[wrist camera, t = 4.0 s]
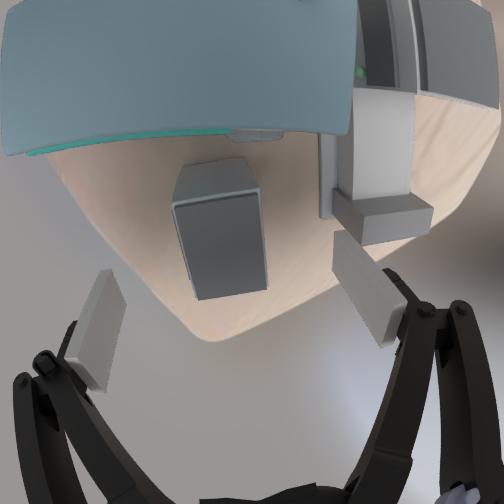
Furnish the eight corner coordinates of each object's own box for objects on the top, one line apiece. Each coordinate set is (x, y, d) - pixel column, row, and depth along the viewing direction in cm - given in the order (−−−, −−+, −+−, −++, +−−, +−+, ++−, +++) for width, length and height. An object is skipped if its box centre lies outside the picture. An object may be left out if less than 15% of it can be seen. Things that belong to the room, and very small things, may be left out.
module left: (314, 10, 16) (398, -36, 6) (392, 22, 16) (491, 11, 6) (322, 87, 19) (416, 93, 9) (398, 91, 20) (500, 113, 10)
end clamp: (332, 188, 24) (364, 216, 19) (395, 182, 25) (433, 207, 20) (332, 213, 25) (361, 246, 20) (393, 205, 26) (428, 234, 21)
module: (179, 167, 22) (165, 206, 15) (243, 157, 22) (261, 190, 15) (194, 241, 26) (192, 303, 19) (251, 231, 26) (270, 291, 19)
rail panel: (306, 6, 16) (323, -6, 13) (388, 19, 16) (412, 13, 13) (319, 217, 26) (334, 235, 23) (389, 207, 27) (409, 223, 24)
